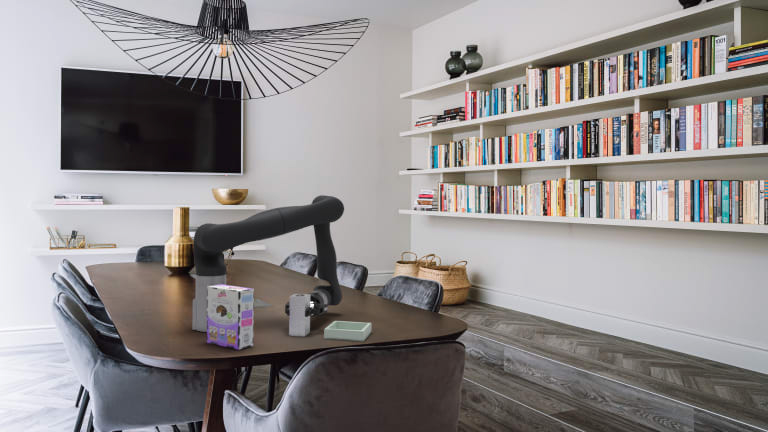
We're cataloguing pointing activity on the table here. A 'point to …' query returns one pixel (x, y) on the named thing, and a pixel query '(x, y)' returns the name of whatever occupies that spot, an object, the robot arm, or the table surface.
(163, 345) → the table surface
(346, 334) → the tray
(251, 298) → the candy box
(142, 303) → the table surface
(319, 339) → the table surface
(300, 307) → the bored block
